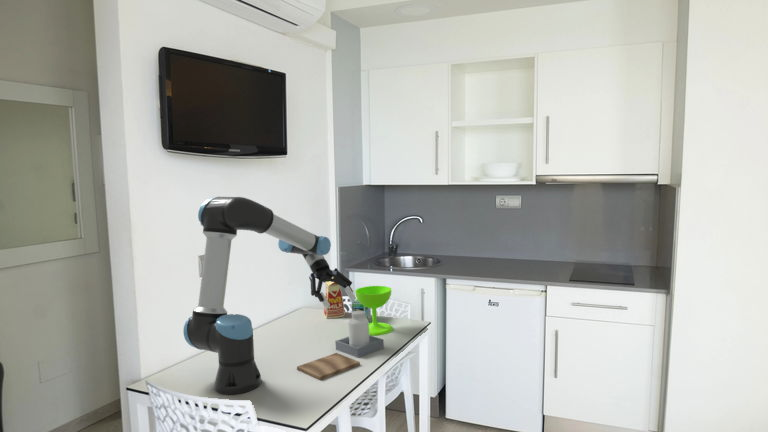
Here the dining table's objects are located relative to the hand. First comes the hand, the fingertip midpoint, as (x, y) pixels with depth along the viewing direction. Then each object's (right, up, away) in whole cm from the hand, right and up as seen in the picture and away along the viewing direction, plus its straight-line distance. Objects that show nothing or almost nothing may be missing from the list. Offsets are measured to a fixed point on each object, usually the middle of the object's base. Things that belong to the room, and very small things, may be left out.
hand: (341, 303), depth 212 cm
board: (-3, -19, -24) cm, 31 cm away
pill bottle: (+8, -17, -6) cm, 20 cm away
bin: (+8, -17, -6) cm, 20 cm away
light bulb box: (+7, -13, +33) cm, 36 cm away
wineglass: (+14, -15, +17) cm, 26 cm away
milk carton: (-7, -13, +42) cm, 44 cm away
